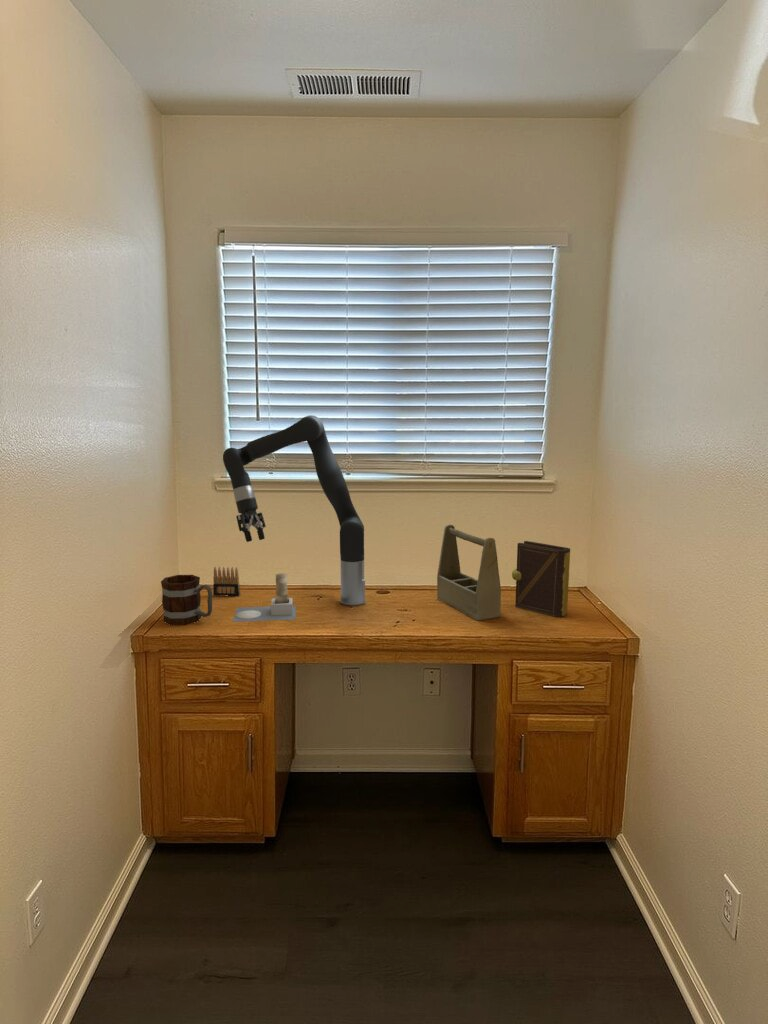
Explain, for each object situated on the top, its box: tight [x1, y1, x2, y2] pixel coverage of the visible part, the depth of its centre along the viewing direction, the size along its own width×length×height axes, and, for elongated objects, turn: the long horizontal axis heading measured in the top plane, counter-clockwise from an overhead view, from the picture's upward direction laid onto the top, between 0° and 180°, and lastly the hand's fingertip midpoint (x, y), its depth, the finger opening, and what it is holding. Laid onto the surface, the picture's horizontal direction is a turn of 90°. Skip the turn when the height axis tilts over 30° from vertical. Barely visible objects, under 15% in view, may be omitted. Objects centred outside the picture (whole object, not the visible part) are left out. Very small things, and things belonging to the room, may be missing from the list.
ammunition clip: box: [212, 566, 241, 597], centre depth 266 cm, size 11×2×12 cm, turn 86°
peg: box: [275, 573, 288, 604], centre depth 241 cm, size 4×4×14 cm
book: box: [511, 540, 571, 619], centre depth 247 cm, size 22×8×25 cm, turn 47°
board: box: [232, 597, 297, 623], centre depth 241 cm, size 22×16×6 cm
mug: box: [160, 574, 213, 626], centre depth 236 cm, size 20×14×15 cm
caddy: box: [436, 524, 502, 621], centre depth 250 cm, size 29×11×30 cm, turn 25°
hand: (255, 540), depth 249 cm, fingers open, 8 cm apart
